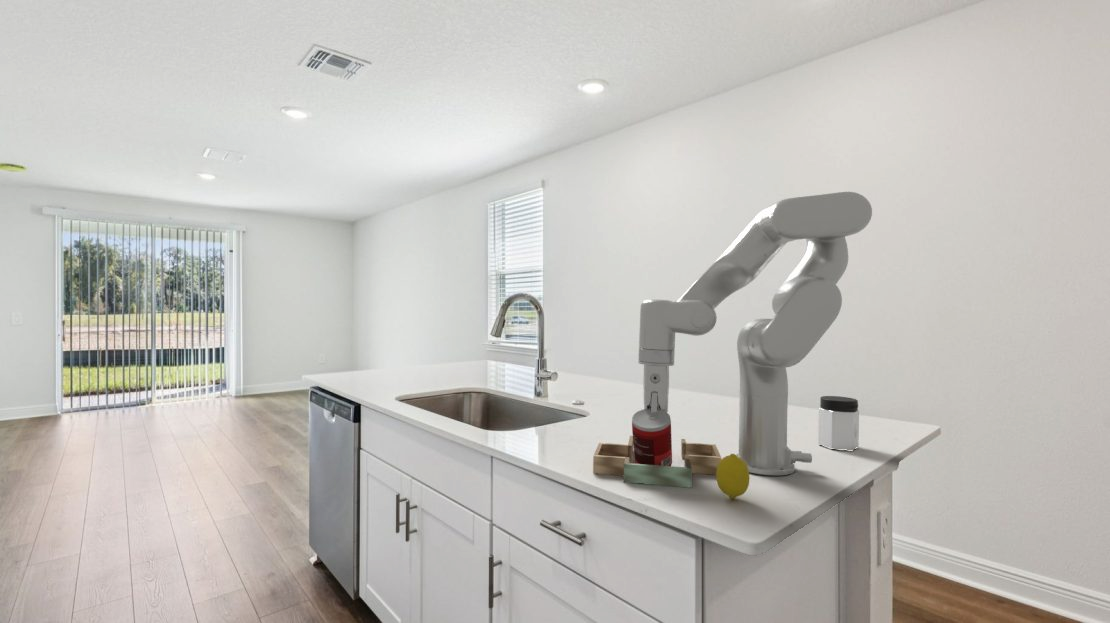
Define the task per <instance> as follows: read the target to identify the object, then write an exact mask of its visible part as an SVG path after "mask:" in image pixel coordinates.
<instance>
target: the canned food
mask: <svg viewBox="0 0 1110 623" xmlns="http://www.w3.org/2000/svg"><path fill="white" fill-rule="evenodd" d="M631 428H632V429H631V430H632V436H633V460H634V464H646V465H660V466H672V465H673V446H672V443H673V442H672V420H671V415H670V414H669V413H668V412H665V411H663V410H660V409H657V412H651V408H649V409H648V410H645V409H644V408H643V409H640V410H637V411H636V412H635V413H633V415H632V417H631Z"/></svg>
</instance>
